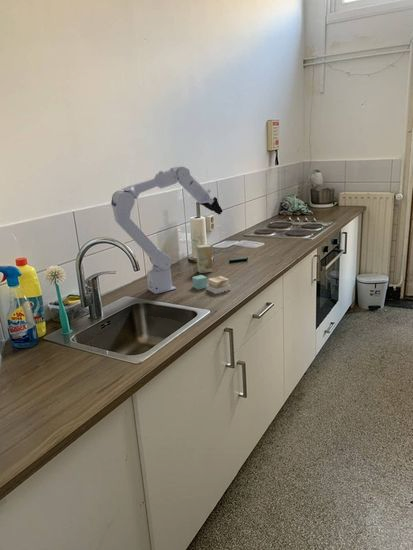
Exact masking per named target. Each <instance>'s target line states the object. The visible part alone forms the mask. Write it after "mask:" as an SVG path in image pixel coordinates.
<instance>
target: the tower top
mask: <svg viewBox="0 0 413 550" xmlns="http://www.w3.org/2000/svg"><path fill="white" fill-rule="evenodd" d="M207 285H210V286H212V287H214V288H216V289H217V288H221V287H225V286H229V285H230V279H229V278H227V277H224V276H222V275H219V276H215V277H212V278H211V277H210V278H207Z"/></svg>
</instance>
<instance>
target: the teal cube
mask: <svg viewBox="0 0 413 550" xmlns="http://www.w3.org/2000/svg"><path fill="white" fill-rule="evenodd" d="M191 279H192V280H191V281H192V287H193V288H195V289H196V290H202V289H207V287H206V285H208V278H207V276H205V275H203V274H199V275H195V276H192V278H191Z"/></svg>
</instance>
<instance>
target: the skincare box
mask: <svg viewBox="0 0 413 550" xmlns="http://www.w3.org/2000/svg"><path fill="white" fill-rule="evenodd" d="M212 252H213V251H212V245H210V244H201V245H196V262H197V263H196V264H197V272H198V273H199V274H203V273H213V256H212V255H213V253H212Z"/></svg>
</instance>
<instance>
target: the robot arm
mask: <svg viewBox="0 0 413 550" xmlns="http://www.w3.org/2000/svg"><path fill="white" fill-rule="evenodd" d="M177 183H179V185H181V187H182V188H183V189H185V191H186V192H188V194H190V195H191V197H192V198H193V199H195V201H197V204H198V205H201V206H203V207H205V208H206V209H207V210H209V211H211V212H214V213H216V214H218V215H219V216H220V215H221V214H222V212H223V209H222V208H221V205H220V204H219V201H218V198H217V197H216V196H214V197H211V194H210V193H211V191H212V190H211V189H209V188H208V189H206V188H205V187H203V185H202V184H201V183H200V182H199V181H198V180H197V179H196V178H195V177H194V176H193V175H191V172H190V169H189V168H187V167H185V166H174V167H170V168H169V169H168V170H165V171H163V170H160V171H158V173H156V174H155V176H154V177H153V178H150V179H148V180H144V181H141V182H138V183H134V184H131V185H128V186H126V187H123V188H121V190H116V191H115V192H113V194H112V196H111V200H110V205H111V207H112V211H113V217H114V220H115V222H116V224H117V225H118V226H119V227H120V228H121V229H122V230H123V231H124V232H125V233H126V234H127V235H128V236H129V237H130V238H131V239H132V240H133V242H135V243H136V245H138V247H140V248H141V249H142V250H143V252H144V253H146V255H147V257H148V259H149V261H150V263H151V264H152V269H151V270H148V271H147V273H146V279H147V287H148V288H147V290H149V292H151V293H152V294H155V295H156V294H160V293H161V294H162V293H165V292H169V291H173V290H174V291H175V290H176V289H177V287H176V286H173V283H172V272H171V266H172V263H173V260H172V257H171V256H170V255H168V254H167V253H164V252H163V251H162V250H161V249H160V248H158V246H156V244H155V243H153V241H152V240H151V239H150V238H149V237H148V236H147V235H146V234H145V233H144V231H142V230H141V228H140V227H139V226H138V225H137V224H136V223H135V222H134V221H133V220H132V219H131V214H132V213H131V212H132V209H133V208H134V206H135V202H136V201H135V200H137V199H138V198H139V196H140V194H142V193H144V192H146V191H149V190H152V189H154V188H156V187H157V188H159V189H164V188H167V187H170V186H173V185H175V184H177Z"/></svg>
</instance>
